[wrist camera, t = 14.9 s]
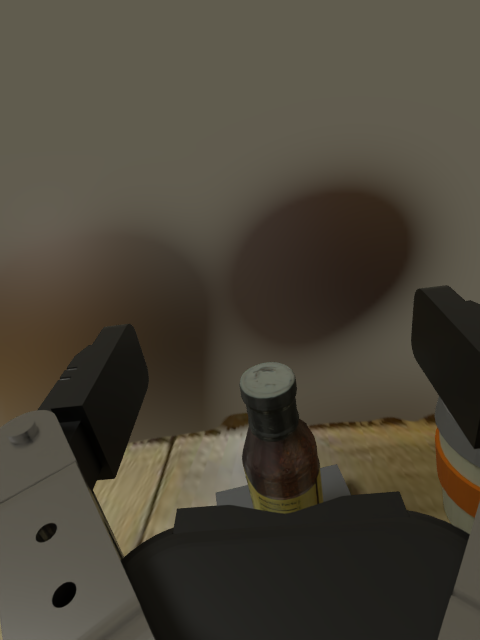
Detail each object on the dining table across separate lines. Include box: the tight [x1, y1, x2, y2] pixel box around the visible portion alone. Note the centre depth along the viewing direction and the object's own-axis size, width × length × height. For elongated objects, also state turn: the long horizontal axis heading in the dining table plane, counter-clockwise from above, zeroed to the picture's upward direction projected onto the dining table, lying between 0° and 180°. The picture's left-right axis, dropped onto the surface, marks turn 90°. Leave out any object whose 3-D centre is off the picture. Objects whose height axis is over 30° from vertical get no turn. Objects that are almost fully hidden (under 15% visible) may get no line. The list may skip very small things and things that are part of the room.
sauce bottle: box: [240, 362, 323, 514], centre depth 33 cm, size 7×6×20 cm
